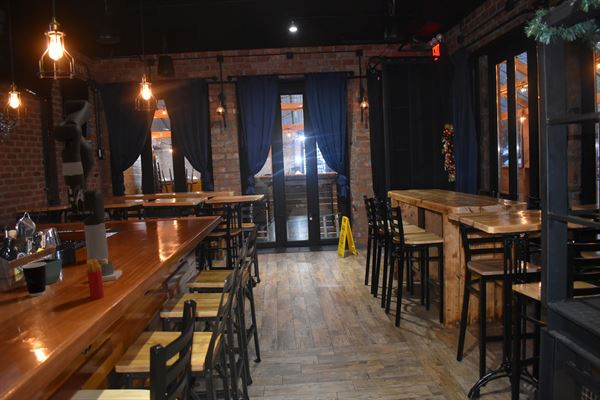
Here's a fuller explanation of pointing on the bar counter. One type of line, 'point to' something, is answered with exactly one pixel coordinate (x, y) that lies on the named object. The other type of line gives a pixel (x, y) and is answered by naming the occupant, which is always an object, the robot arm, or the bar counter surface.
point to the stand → (112, 276)
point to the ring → (107, 268)
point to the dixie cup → (35, 278)
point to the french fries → (95, 279)
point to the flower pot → (51, 269)
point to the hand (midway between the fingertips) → (78, 212)
